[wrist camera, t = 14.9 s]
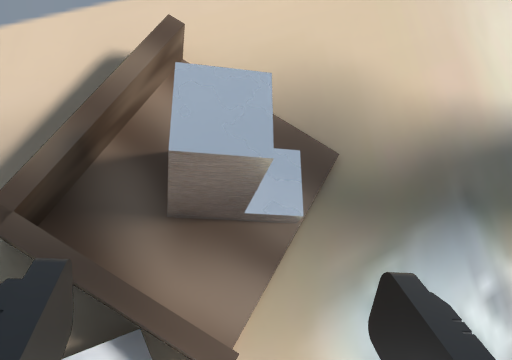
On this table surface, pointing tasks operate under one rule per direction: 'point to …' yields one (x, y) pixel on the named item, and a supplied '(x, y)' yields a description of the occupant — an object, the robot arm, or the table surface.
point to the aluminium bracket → (228, 149)
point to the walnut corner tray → (148, 211)
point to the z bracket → (117, 349)
